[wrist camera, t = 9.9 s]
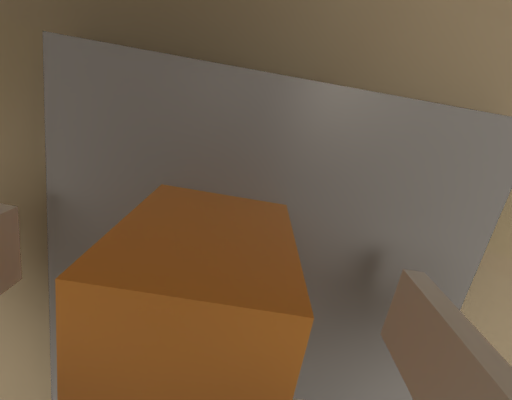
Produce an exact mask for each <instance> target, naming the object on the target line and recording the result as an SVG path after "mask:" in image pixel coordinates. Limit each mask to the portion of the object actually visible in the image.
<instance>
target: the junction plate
mask: <svg viewBox="0 0 512 400" xmlns="http://www.w3.org/2000/svg"><path fill="white" fill-rule="evenodd" d="M43 64H44V106H45V148H46V189H47V231H48V273H49V314H50V356H51V398H52V400H57V348H56V294H55V279H56V278H57V277H58V276H59V275H60V274H61V273H62V272H64V271H65V270H66V269H67V268H68V267H69V266H70V265H71V264H73V263H74V262H75V261H76V260H77V259H78V258H79V257H80V256H82V255H83V254H84V253H85V252H86V251H87V250H88V249H89V248H91V247H92V246H93V245H94V244H95V243H96V242H97V241H98V240H100V239H101V238H102V237H103V236H104V235H105V234H106V233H107V232H109V231H110V230H111V229H112V228H113V227H114V226H115V225H116V224H117V223H119V222H120V221H121V220H122V219H123V218H124V217H125V216H126V215H128V214H129V213H130V212H131V211H132V210H133V209H134V208H135V207H137V206H138V205H139V204H140V203H141V202H142V201H143V200H144V199H146V198H147V197H148V196H149V195H150V194H151V193H152V192H153V191H155V190H156V189H157V188H158V187H159V186H160V185H161V184H163V185H169V186H175V187H181V188H187V189H193V190H199V191H205V192H211V193H217V194H223V195H229V196H235V197H242V198H248V199H254V200H260V201H266V202H272V203H278V204H284V205H287V209H288V213H289V217H290V221H291V226H292V230H293V234H294V238H295V242H296V246H297V250H298V254H299V258H300V262H301V266H302V271H303V275H304V279H305V283H306V287H307V291H308V295H309V299H310V303H311V307H312V311H313V316H314V321H313V325H312V328H311V332H310V336H309V340H308V343H307V347H306V351H305V355H304V358H303V362H302V366H301V370H300V374H299V377H298V381H297V385H296V389H295V392H294V396H293V400H413V398H412V396H411V394H410V392H409V390H408V388H407V386H406V384H405V382H404V380H403V378H402V376H401V374H400V372H399V370H398V368H397V366H396V364H395V362H394V360H393V358H392V356H391V354H390V352H389V350H388V348H387V346H386V344H385V342H384V340H383V338H382V336H381V334H380V333H381V330H382V328H383V325H384V322H385V319H386V316H387V313H388V310H389V308H390V305H391V302H392V299H393V296H394V293H395V290H396V288H397V285H398V282H399V279H400V276H401V273H402V271H403V269H407V270H413V271H419V272H425V273H426V275H427V276H428V277H429V278H430V279H431V280H432V281H433V282H434V283H435V284H436V285H437V286H438V288H439V289H440V290H441V291H442V292H443V293H444V294H445V295H446V296H447V297H448V298H449V300H450V301H451V302H452V303H453V304H454V305H455V306H456V307H457V308H458V309H459V310H460V309H461V306H462V304H463V302H464V299H465V297H466V295H467V292H468V290H469V288H470V285H471V283H472V280H473V278H474V276H475V273H476V271H477V269H478V266H479V264H480V262H481V259H482V257H483V255H484V252H485V250H486V247H487V245H488V243H489V240H490V238H491V236H492V233H493V231H494V229H495V226H496V224H497V222H498V219H499V217H500V214H501V212H502V210H503V207H504V205H505V203H506V200H507V198H508V196H509V193H510V191H511V189H512V117H510V116H504V115H499V114H493V113H488V112H483V111H477V110H472V109H466V108H461V107H455V106H450V105H444V104H439V103H433V102H428V101H422V100H417V99H412V98H406V97H401V96H395V95H390V94H384V93H379V92H373V91H368V90H362V89H357V88H352V87H346V86H341V85H335V84H330V83H324V82H319V81H313V80H308V79H302V78H297V77H292V76H286V75H281V74H275V73H270V72H264V71H259V70H253V69H248V68H242V67H237V66H231V65H226V64H221V63H215V62H210V61H204V60H199V59H193V58H188V57H182V56H177V55H171V54H166V53H161V52H155V51H150V50H144V49H139V48H133V47H128V46H122V45H117V44H111V43H106V42H101V41H95V40H90V39H84V38H79V37H73V36H68V35H62V34H57V33H51V32H46V31H43Z"/></svg>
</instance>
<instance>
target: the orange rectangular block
mask: <svg viewBox="0 0 512 400" xmlns="http://www.w3.org/2000/svg"><path fill="white" fill-rule="evenodd" d="M55 294H56V348H57V400H293V396H294V392H295V389H296V385H297V381H298V377H299V374H300V370H301V366H302V362H303V358H304V355H305V351H306V347H307V343H308V340H309V336H310V332H311V328H312V325H313V321H314V316H313V311H312V307H311V303H310V299H309V295H308V291H307V287H306V283H305V279H304V275H303V271H302V266H301V262H300V258H299V254H298V250H297V246H296V242H295V238H294V234H293V230H292V226H291V221H290V217H289V213H288V209H287V205H284V204H278V203H272V202H266V201H260V200H254V199H248V198H242V197H235V196H229V195H223V194H217V193H211V192H205V191H199V190H193V189H187V188H181V187H175V186H169V185H163V184H161V185H160V186H159V187H158V188H157V189H156V190H155V191H153V192H152V193H151V194H150V195H149V196H148V197H147V198H146V199H144V200H143V201H142V202H141V203H140V204H139V205H138V206H137V207H135V208H134V209H133V210H132V211H131V212H130V213H129V214H128V215H126V216H125V217H124V218H123V219H122V220H121V221H120V222H119V223H117V224H116V225H115V226H114V227H113V228H112V229H111V230H110V231H109V232H107V233H106V234H105V235H104V236H103V237H102V238H101V239H100V240H98V241H97V242H96V243H95V244H94V245H93V246H92V247H91V248H89V249H88V250H87V251H86V252H85V253H84V254H83V255H82V256H80V257H79V258H78V259H77V260H76V261H75V262H74V263H73V264H71V265H70V266H69V267H68V268H67V269H66V270H65V271H64V272H62V273H61V274H60V275H59V276H58V277H57V278H56V279H55Z"/></svg>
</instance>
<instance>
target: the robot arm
mask: <svg viewBox="0 0 512 400" xmlns="http://www.w3.org/2000/svg"><path fill="white" fill-rule="evenodd" d="M21 279H22V272H21V254H20V236H19V219H18V206H13V205H6V204H0V295H1V294H2V293H4V292H5V291H6V290H8V289H9V288H10V287H12V286H13V285H14V284H16V283H17V282H18V281H19V280H21ZM380 334H381V336H382V338H383V340H384V342H385V344H386V346H387V348H388V350H389V352H390V354H391V356H392V358H393V360H394V362H395V364H396V366H397V368H398V370H399V372H400V374H401V376H402V378H403V380H404V382H405V384H406V386H407V388H408V390H409V392H410V394H411V396H412V398H413V400H512V367H511V366H510V365H509V364H508V362H507V361H506V360H505V359H504V358H503V357H502V356H501V355H500V354H499V353H498V352H497V350H496V349H495V348H494V347H493V346H492V345H491V344H490V343H489V342H488V341H487V340H486V339H485V337H484V336H483V335H482V334H481V333H480V332H479V331H478V330H477V329H476V328H475V327H474V326H473V324H472V323H471V322H470V321H469V320H468V319H467V318H466V317H465V316H464V315H463V314H462V313H461V311H460V310H459V309H458V308H457V307H456V306H455V305H454V304H453V303H452V302H451V301H450V300H449V298H448V297H447V296H446V295H445V294H444V293H443V292H442V291H441V290H440V289H439V288H438V286H437V285H436V284H435V283H434V282H433V281H432V280H431V279H430V278H429V277H428V276H427V275H426V273H425V272H419V271H413V270H407V269H403V271H402V273H401V276H400V279H399V282H398V285H397V288H396V290H395V293H394V296H393V299H392V302H391V305H390V308H389V310H388V313H387V316H386V319H385V322H384V325H383V328H382V330H381V333H380Z"/></svg>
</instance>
